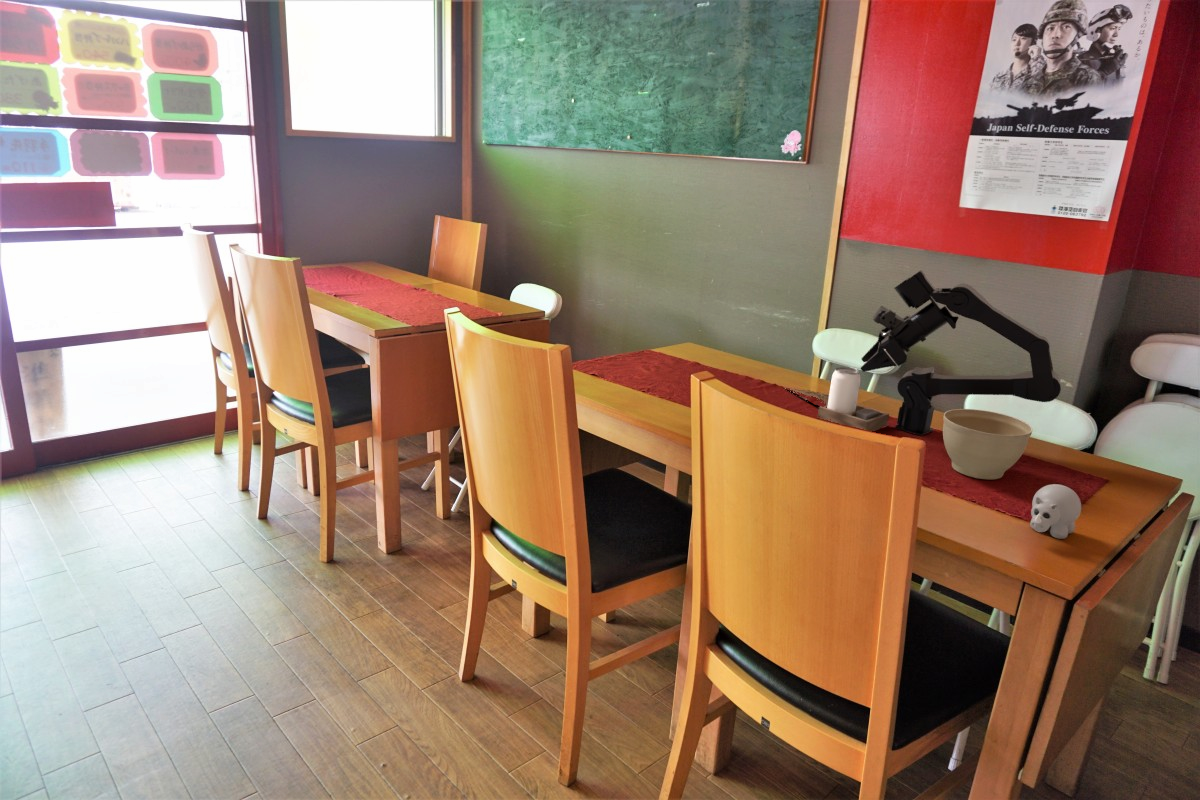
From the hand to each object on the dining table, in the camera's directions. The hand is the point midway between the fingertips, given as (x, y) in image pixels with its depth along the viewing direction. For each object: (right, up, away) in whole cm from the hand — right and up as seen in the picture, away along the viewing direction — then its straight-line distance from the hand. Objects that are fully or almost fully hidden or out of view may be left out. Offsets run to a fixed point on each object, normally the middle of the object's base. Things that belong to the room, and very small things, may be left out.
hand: (862, 365), depth 182 cm
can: (-4, -13, +5) cm, 14 cm away
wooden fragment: (-4, -9, +17) cm, 20 cm away
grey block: (+1, -14, 0) cm, 14 cm away
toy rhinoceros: (+15, -31, -48) cm, 59 cm away
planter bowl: (+16, -23, -22) cm, 35 cm away
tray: (-1, -13, +3) cm, 14 cm away
